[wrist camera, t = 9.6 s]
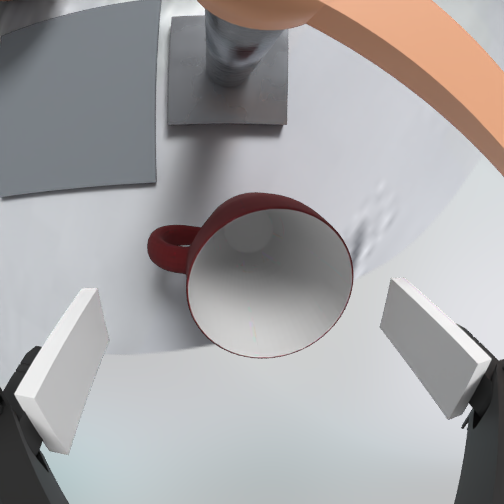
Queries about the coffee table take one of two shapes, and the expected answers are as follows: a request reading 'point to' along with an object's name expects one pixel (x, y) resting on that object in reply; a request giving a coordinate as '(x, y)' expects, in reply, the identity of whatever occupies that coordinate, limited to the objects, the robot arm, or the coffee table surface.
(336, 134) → the coffee table surface
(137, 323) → the coffee table surface
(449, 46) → the ball-ended drumstick
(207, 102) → the clip post
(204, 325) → the mug
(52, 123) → the mat
